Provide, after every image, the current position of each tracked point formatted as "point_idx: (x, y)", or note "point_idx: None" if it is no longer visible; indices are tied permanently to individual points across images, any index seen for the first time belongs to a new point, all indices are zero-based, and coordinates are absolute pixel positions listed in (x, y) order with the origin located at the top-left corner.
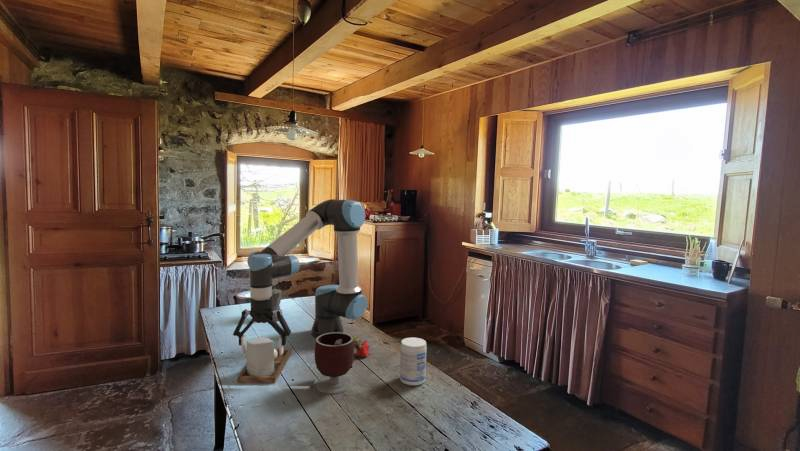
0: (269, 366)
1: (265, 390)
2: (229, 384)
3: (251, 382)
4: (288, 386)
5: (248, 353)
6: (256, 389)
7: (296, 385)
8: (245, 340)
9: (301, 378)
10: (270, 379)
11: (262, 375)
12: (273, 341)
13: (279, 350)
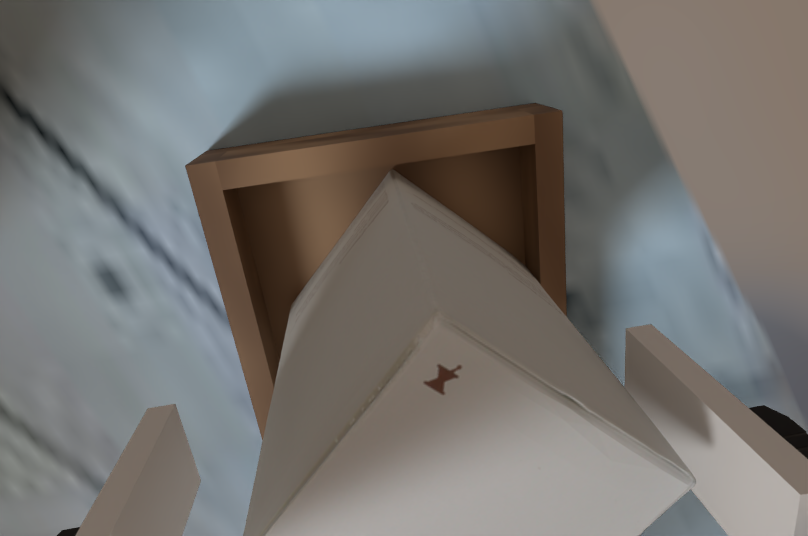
0: (308, 305)
1: (248, 52)
2: (611, 111)
3: (418, 123)
4: (79, 159)
5: (575, 344)
6: (339, 58)
7: (17, 189)
8: (724, 509)
9: (50, 313)
10: (236, 156)
11: (355, 222)
12: None
13: (153, 446)
